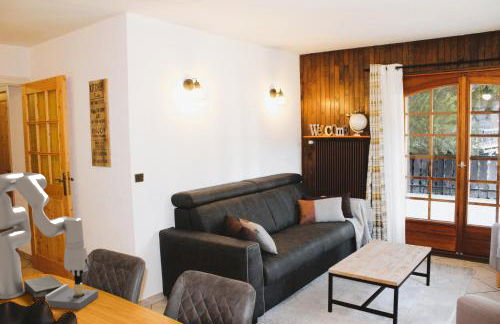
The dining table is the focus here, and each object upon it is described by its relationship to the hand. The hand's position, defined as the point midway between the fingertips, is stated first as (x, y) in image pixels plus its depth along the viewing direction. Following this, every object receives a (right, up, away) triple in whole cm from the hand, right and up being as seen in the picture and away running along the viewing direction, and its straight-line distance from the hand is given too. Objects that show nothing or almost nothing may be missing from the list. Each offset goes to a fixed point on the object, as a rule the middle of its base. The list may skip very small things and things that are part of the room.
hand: (78, 283), depth 198 cm
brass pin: (0, -9, +1) cm, 9 cm away
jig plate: (-3, -9, +2) cm, 10 cm away
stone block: (-23, -9, +14) cm, 28 cm away
